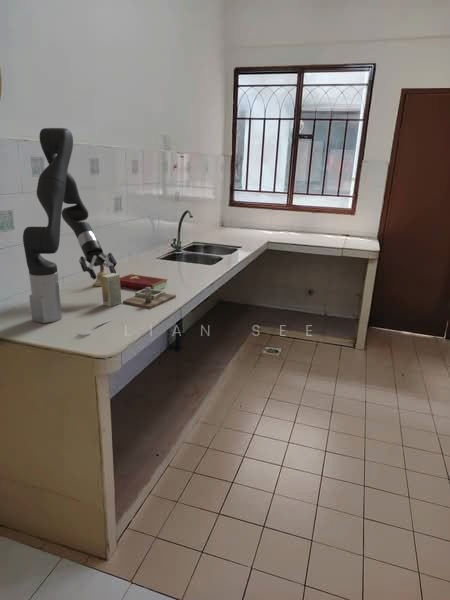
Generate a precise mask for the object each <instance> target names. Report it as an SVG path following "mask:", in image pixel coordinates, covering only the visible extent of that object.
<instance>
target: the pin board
mask: <svg viewBox="0 0 450 600" xmlns="http://www.w3.org/2000/svg"><path fill="white" fill-rule="evenodd" d="M175 298H177V294H173V293H172V294H171V293H167V292H166V291H165V290H161V289H160V290H154V289H151V287H146V288H145V289H143V290H137V291H135V292H134V296H132V297H129V298H126V299H124V300H122V304H125V305H131V306H135V307H141V308H146V309H154V308H156V307H158V306H160V305H163V304H164V303H167V302H169V301H171V300H173V299H175Z"/></svg>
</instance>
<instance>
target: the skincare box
mask: <svg viewBox="0 0 450 600" xmlns="http://www.w3.org/2000/svg"><path fill="white" fill-rule="evenodd" d="M120 278H121V277H120V274H119V273H116V274H115V273H111V272H110V273H107V275H102V276H101V283H102V286H101V291H102V294H101V295H102V302H103V305H104V306H107V307H113V306H116V305H119V304H123V301H122V292H121V291H122V290H121V287H120Z"/></svg>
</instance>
